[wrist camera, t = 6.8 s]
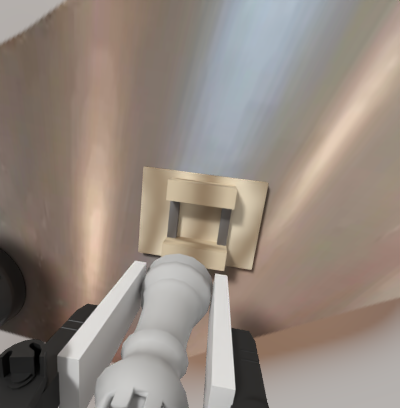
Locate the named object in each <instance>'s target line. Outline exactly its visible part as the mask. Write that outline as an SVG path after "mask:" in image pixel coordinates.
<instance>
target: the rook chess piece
mask: <svg viewBox="0 0 400 408" xmlns="http://www.w3.org/2000/svg"><path fill="white" fill-rule="evenodd" d="M212 291H213V285H212V278H211V276H210V274H209V272H208V271H207V269H206V268H205V266H204V265H203V264H201V263H200V262H199V261H197V260H196V259H195V258H193V257H190V256H186V255H183V254H170V255H165V256H163V257H161V258H159V259H157V260H155V261H154V262H153V264H152V265H151V266H150V267H149V269H148V270H147V273H146V276H145V277H144V278H143V282H142V287H141V292H140V297H141V307H142V313H141V316H140V319H139V322H138V325H137V328H136V330H135V332H134V333H133V334H131V335H130V336H129V337H128V338H127V339H126V341H125V342H124V343H123V346H122V351H121V357H122V360H120V361H118V362H116V363H114V364H112V365H111V366H109V367H107V368H105V370H104V371H103V372H102V373H101V374H100V376H99V377H98V378H97V380H96V386H95V392H94V395H95V405H96V407H95V408H189V407H188V402H187V397H186V392H185V390H184V388H183V386H182V384H181V382H180V379H181V378H182V377H183V376H184V375H185V374H186V370H187V367H188V357H187V352H186V346H187V342H188V339H189V336H190V334H191V331H192V328H193V327H194V326H195V325H196V324H197V323H198V322H199V321H200V320H201V319H202V317H203V316H204V315H205V314H206V313H207V311H208V308H209V305H210V301H211V295H212Z"/></svg>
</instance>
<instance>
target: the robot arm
mask: <svg viewBox="0 0 400 408" xmlns="http://www.w3.org/2000/svg"><path fill="white" fill-rule="evenodd" d="M146 264H147V263H146V262H139V261H134V263H133V264H132V265H131V266H130V267H129V269H128V270H127V271H126V272H125V274H124V275H123V276H122V277H121V278H120V280H119V281H118V282H117V283H116V285H115V286H114V287H113V288H112V289H111V291H110V292H109V293H108V294H107V296H106V297H105V298H104V299H103V300H102V302H101V303H100V304H99V305H92V304H86V305H85V306H83V307H81V308H80V309H78V310H77V311H76V312H75V313H74V314H73V315H72V316H71V317H70V318H69V320H68V321H66V322H65V323H64V324H63V326H62V327H61V328H60V329H59V330H58V331H57V332H56V333H55V334H54V335H53V336H52V337H51V338H50V339H49V341H48V342H47V343H46V344H45V343H44V342H42V341H41V340H35V339H32V340H26V341H23V342H20V343H17V344H15V345H13V346H11V347H10V348H8V349H6V350H5V351H4V352H3V353H2V354H1V355H0V408H58V406H59V408H87V406H88V404H89V402H90V400H91V399H92V397H93V395H94V392H95V386H96V380H97V378H98V377H99V376H100V374H101V373H102V372H103V371H104V370H105V368H107V367H109V365H110V363H111V361H112V359H113V357H114V355H115V353H116V352H117V350H118V348H119V346H120V344H121V342H122V340H123V338H124V336H125V335H126V333H127V331H128V329H129V327H130V325H131V323H132V321H133V319H134V318H135V316H136V314H137V312H138V310H139V308H140V306H141V297H140V292H141V287H142V282H143V278H144V277H145V276H146ZM24 300H25V284H24V280H23V277H22V274H21V272H20V270H19V269H18V267H17V265H16V264H15V263H14V261H13V260H12V259H11V258H10V257H9V256H8V255H7V254H6V253H5V252H4V251H3V250H1V249H0V326H1V325H3V324H4V323H5V322H7V321H8V320H9V319H11V318H12V317H13V316H15V315H16V314H17V313H18V312H19V311H20V309H21V308H22V306H23V303H24ZM203 408H269V406H268V403H267V399H266V394H265V389H264V384H263V378H262V373H261V369H260V364H259V359H258V354H257V349H256V343H255V340H254V339H253V337H252V335H251V334H250V332H249V331H245V330H240V329H234V328H231V319H230V305H229V291H228V277H227V275H221V274H215V278H214V285H213V291H212V298H211V304H210V310H209V325H208V341H207V357H206V374H205V388H204V404H203Z"/></svg>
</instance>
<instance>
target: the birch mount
mask: <svg viewBox="0 0 400 408" xmlns="http://www.w3.org/2000/svg"><path fill="white" fill-rule="evenodd" d="M268 184H269V183H267V182H259V181H252V180H244V179H237V178H229V177H221V176H214V175H206V174H199V173H191V172H183V171H176V170H168V169H161V168H153V167H144V169H143V185H142V201H141V217H140V233H139V249H138V252H141V253H147V254H154V255H160V256H161V257H163V256H165V255H170V254H183V255H186V256H190V257H193V258H195V259H196V260H197V261H199V262H200V263H201V264H203V265H204V266H205V268H207V269H214V270H220V271H224V268H225V266H230V267H237V268H243V269H249V270H252V265H253V260H254V255H255V250H256V244H257V239H258V234H259V229H260V224H261V219H262V214H263V209H264V204H265V199H266V194H267V189H268Z"/></svg>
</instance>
